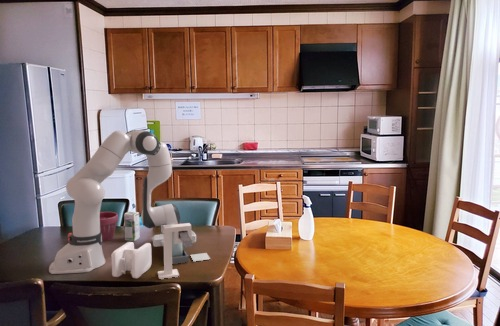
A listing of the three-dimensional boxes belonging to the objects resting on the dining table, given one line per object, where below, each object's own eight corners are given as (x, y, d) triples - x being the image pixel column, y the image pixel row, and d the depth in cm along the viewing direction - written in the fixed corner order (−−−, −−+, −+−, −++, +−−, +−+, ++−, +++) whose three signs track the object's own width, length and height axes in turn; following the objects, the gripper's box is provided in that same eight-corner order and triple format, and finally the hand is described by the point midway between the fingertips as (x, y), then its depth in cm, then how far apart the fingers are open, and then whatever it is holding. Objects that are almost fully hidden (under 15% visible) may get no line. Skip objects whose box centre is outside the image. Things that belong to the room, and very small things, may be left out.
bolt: (183, 249, 142) (182, 239, 141) (174, 232, 162) (174, 223, 161) (193, 248, 143) (193, 238, 143) (183, 231, 163) (183, 223, 162)
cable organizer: (134, 282, 149) (133, 254, 147) (110, 279, 151) (109, 252, 149) (152, 267, 163) (151, 241, 162) (130, 265, 165) (129, 239, 164)
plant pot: (109, 243, 191) (108, 219, 190) (84, 242, 194) (83, 218, 192) (123, 234, 205) (122, 212, 204) (99, 233, 208) (98, 210, 206)
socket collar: (168, 265, 166) (168, 258, 165) (165, 257, 174) (165, 251, 174) (188, 262, 169) (188, 256, 168) (185, 255, 177) (185, 249, 177)
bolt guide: (159, 279, 151) (158, 229, 148) (157, 273, 157) (156, 225, 154) (192, 275, 156) (191, 226, 153) (189, 269, 161) (189, 222, 158)
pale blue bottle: (172, 262, 168) (171, 233, 166) (170, 258, 173) (170, 230, 171) (183, 261, 170) (183, 232, 168) (181, 257, 174) (181, 229, 173)
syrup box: (124, 240, 197) (123, 213, 195) (130, 236, 202) (129, 210, 200) (134, 241, 195) (133, 214, 193) (140, 237, 201) (139, 211, 199)
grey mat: (193, 262, 169) (193, 261, 169) (190, 256, 176) (190, 254, 176) (210, 260, 171) (210, 258, 171) (206, 254, 179) (206, 252, 179)
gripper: (150, 231, 179) (153, 240, 166) (192, 227, 186) (198, 235, 173) (150, 243, 180) (153, 253, 167) (192, 239, 187) (198, 248, 174)
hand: (176, 244), depth 170 cm, fingers open, 8 cm apart
